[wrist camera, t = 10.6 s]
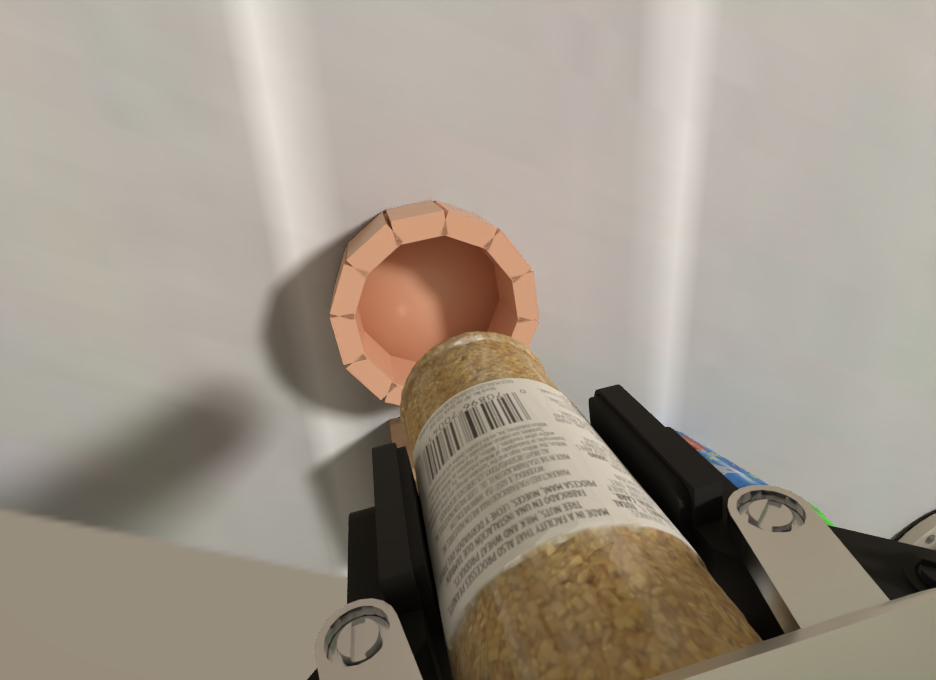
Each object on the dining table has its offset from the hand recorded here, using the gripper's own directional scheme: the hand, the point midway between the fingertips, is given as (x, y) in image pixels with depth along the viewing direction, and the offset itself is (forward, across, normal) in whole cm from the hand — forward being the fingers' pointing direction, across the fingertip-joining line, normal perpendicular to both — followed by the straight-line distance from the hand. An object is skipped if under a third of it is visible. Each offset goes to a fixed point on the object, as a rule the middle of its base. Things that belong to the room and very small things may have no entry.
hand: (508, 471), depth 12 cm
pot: (+16, 0, 0) cm, 16 cm away
